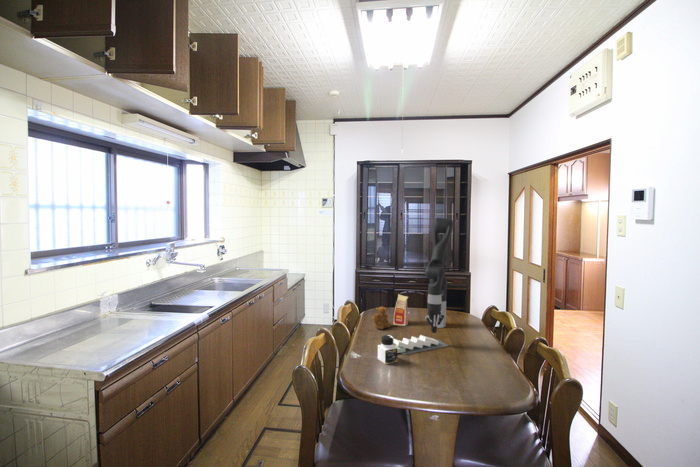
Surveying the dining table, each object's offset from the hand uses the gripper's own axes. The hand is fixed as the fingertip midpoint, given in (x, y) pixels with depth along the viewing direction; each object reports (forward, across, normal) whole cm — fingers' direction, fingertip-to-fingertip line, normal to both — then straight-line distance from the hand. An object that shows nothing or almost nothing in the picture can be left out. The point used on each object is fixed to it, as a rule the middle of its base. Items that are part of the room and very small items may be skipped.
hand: (433, 332), depth 175 cm
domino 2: (+6, +21, 0) cm, 21 cm away
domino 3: (+6, +10, 0) cm, 11 cm away
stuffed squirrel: (+7, +13, -37) cm, 40 cm away
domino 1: (+5, +16, 0) cm, 17 cm away
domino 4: (+6, +4, 0) cm, 7 cm away
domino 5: (+6, -2, 0) cm, 6 cm away
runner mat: (+7, +8, 0) cm, 11 cm away
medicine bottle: (+7, +34, +7) cm, 36 cm away
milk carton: (+7, -4, -39) cm, 40 cm away
